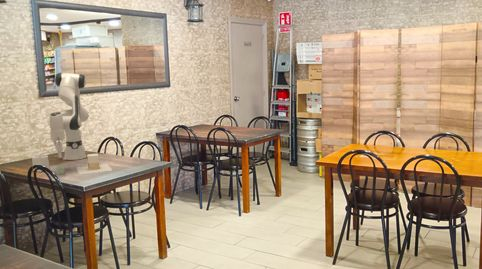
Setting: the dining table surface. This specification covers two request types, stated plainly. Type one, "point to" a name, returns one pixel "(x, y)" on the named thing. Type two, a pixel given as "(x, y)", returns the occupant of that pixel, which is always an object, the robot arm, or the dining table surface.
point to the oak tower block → (93, 166)
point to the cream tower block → (93, 158)
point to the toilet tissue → (40, 161)
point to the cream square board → (85, 170)
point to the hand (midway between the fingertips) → (59, 156)
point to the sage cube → (60, 170)
